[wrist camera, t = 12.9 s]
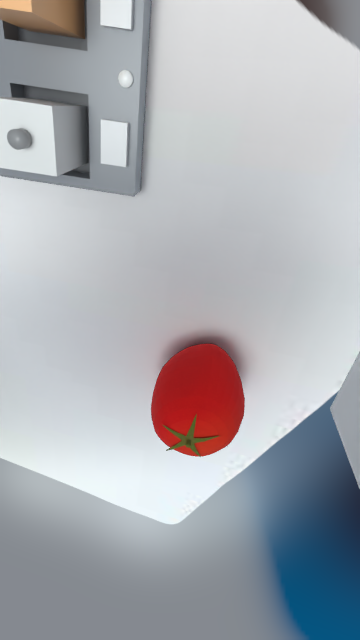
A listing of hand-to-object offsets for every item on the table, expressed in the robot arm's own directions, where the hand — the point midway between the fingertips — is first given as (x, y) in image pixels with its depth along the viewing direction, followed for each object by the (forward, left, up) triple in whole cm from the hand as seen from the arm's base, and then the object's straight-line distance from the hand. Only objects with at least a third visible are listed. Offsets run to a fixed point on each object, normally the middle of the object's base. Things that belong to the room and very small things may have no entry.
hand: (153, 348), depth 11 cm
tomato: (+4, -24, -29) cm, 38 cm away
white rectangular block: (-14, +3, -29) cm, 32 cm away
